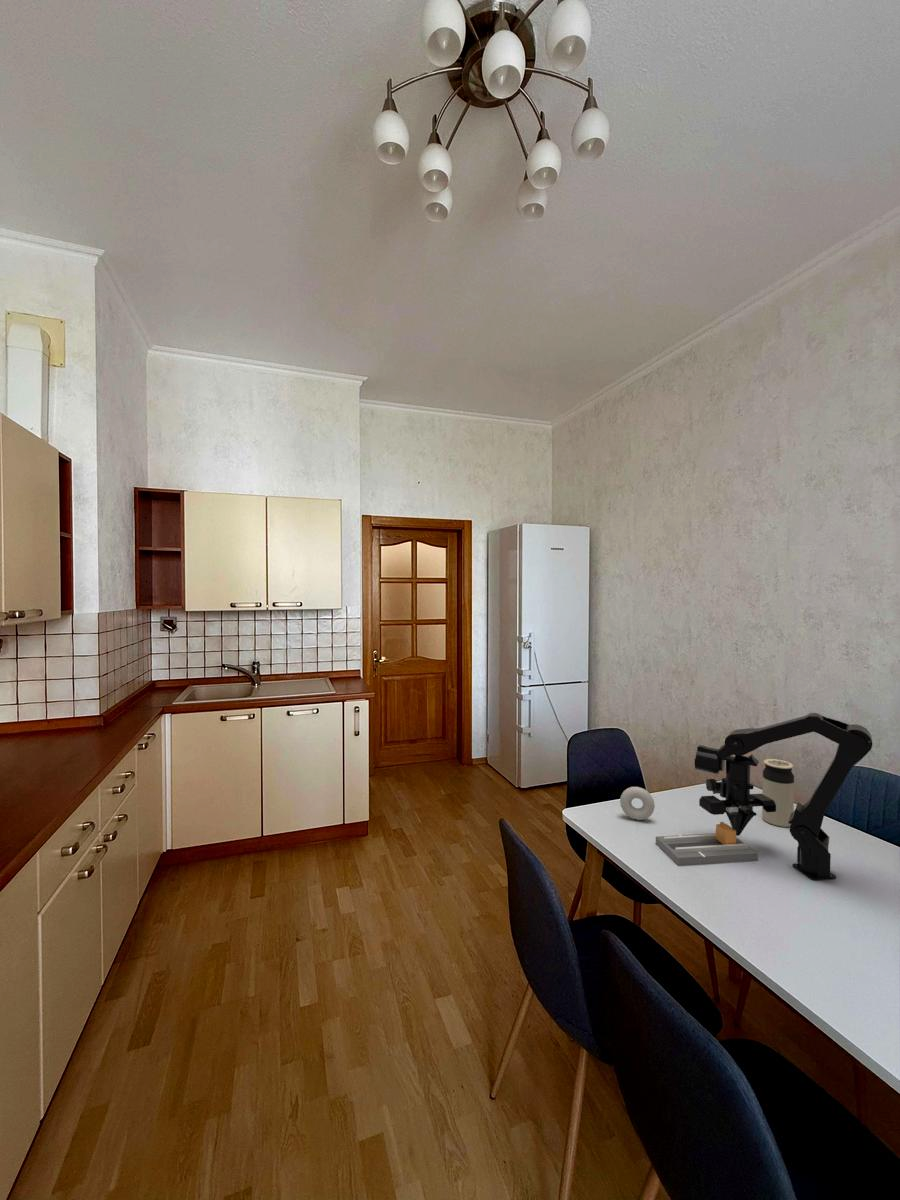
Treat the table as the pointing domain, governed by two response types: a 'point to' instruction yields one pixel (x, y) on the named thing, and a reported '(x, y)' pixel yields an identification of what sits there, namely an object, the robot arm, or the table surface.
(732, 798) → the robot arm
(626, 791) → the donut
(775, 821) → the travel mug
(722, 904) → the table surface
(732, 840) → the fader cap
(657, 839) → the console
